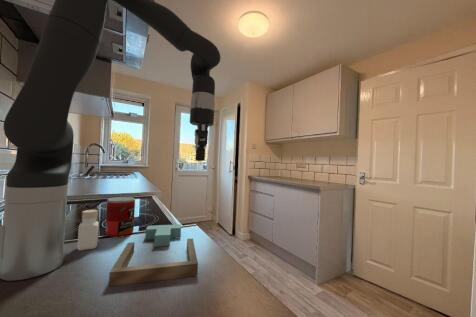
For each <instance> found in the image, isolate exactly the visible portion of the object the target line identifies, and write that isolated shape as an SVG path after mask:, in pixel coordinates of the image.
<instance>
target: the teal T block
mask: <svg viewBox="0 0 476 317" xmlns="http://www.w3.org/2000/svg"><path fill="white" fill-rule="evenodd" d="M173 237H182V224H181V223H178V224H158V225H147V227H146V228H145V240H146V239H151V240H154V244H153V245H154V246H153V247H156V248H157V247H169V246H171V239H174V238H173Z"/></svg>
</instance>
